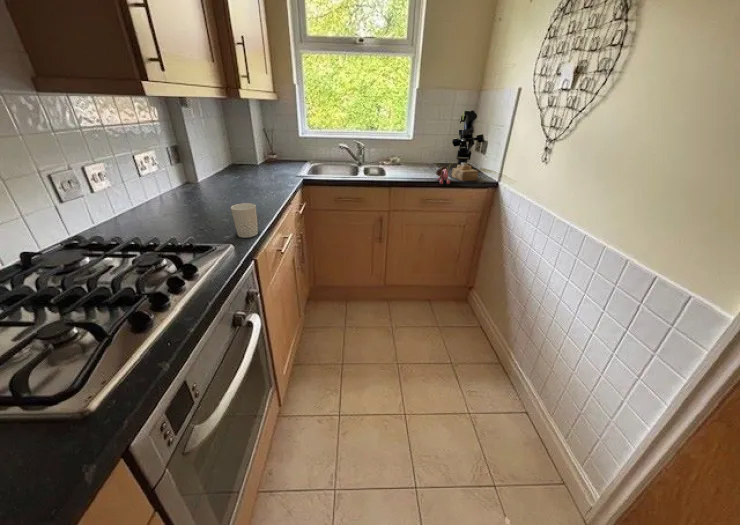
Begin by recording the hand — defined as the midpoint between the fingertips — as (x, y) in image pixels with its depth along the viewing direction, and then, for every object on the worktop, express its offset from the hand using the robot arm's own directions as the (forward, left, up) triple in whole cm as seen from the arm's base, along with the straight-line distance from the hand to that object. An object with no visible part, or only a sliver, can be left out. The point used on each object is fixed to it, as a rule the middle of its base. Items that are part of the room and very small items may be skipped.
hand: (467, 153), depth 204 cm
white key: (+9, -7, -6) cm, 13 cm away
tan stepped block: (+12, -8, -13) cm, 19 cm away
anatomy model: (+17, -25, -13) cm, 33 cm away
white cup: (+69, -131, -13) cm, 148 cm away
